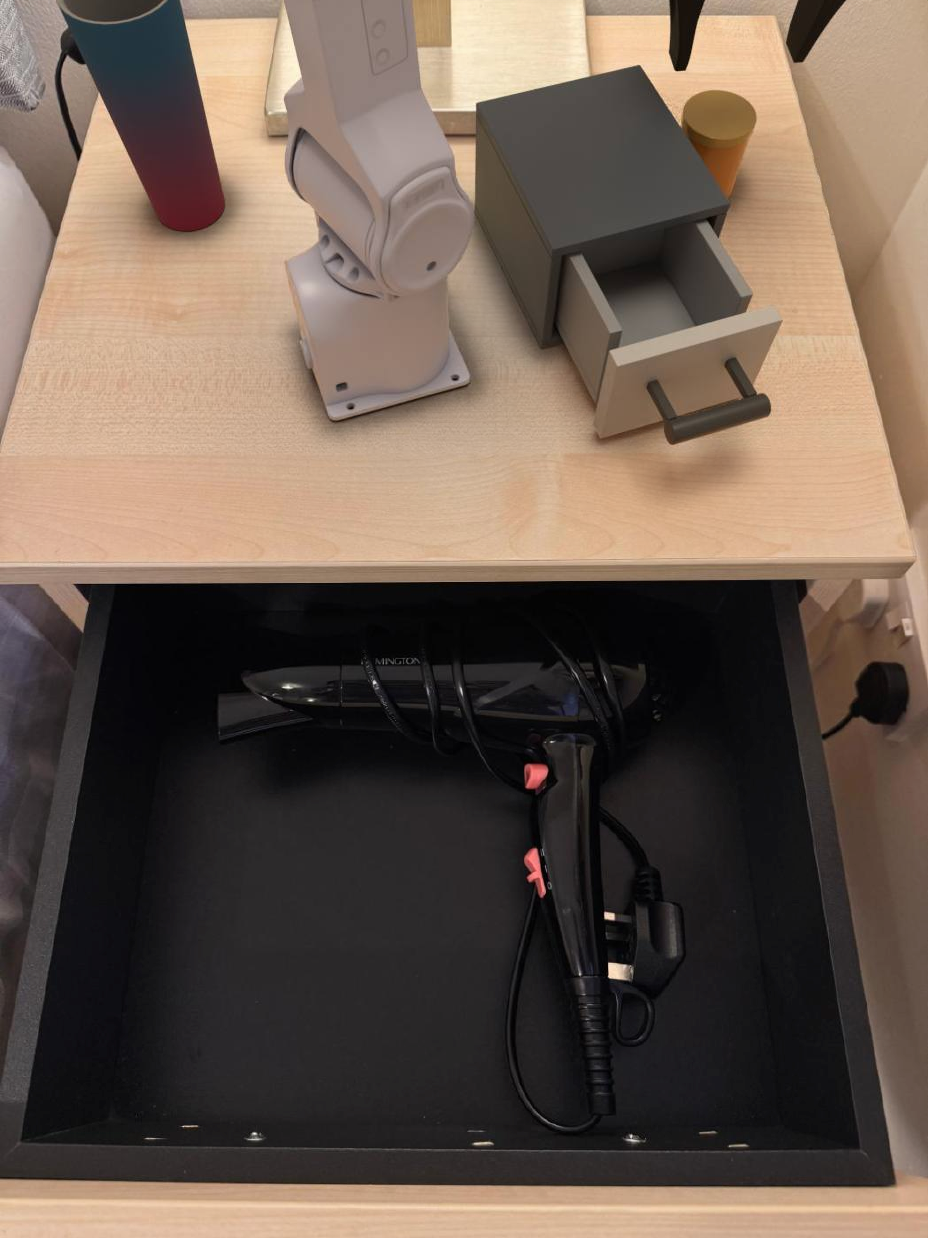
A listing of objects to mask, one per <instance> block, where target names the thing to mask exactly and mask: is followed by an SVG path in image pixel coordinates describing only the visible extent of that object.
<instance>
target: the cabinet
mask: <svg viewBox="0 0 928 1238" xmlns="http://www.w3.org/2000/svg"><path fill="white" fill-rule="evenodd" d="M680 126H681V124H679V122H678V120H677V119H676V118H675V116H674V114H673V113H672V112H671V109H670V108H669V107H668V105H667V104H666V102H665V101H664V100H663V98H662V96H661V95H660V93H659V91H658V90H657V88H656V87H655V86H654V84H653V82H652V81H651V79H650V78H649V76H648V75H647V73H646V71H645V70H644V69H643V67H642V66H641V65H640V64H637V65H633V66H628V67H624V68H623V67H622V68H620V69H615V70H610V71H607V72H602V73H598V74H593V75H589V76H585V77H581V78H577V79H573V80H568V81H564V82H558V83H555V84H550V85H546V86H543V87H538V88H534V89H530V90H525V91H521V92H516V93H513V94H508V95H504V96H500V97H495V98H491V99H487V100H482V101H478V102H476V103H475V153H474V154H475V158H474V159H475V162H474V163H475V164H474V215H475V216H476V218H477V220H478V222H479V224H480V226H481V228H482V230H483V232H484V235H485V236H486V238H487V241H488V242H489V245H490V246H491V249H492V251H493V253H494V256H495V257H496V259H497V261H498V263H499V265H500V268H501V270H502V271H503V273H504V275H505V277H506V280H507V282H508V284H509V286H510V288H511V290H512V292H513V294H514V296H515V298H516V300H517V302H518V305H519V307H520V308H521V310H522V313H523V315H524V317H525V319H526V321H527V323H528V325H529V327H530V330H531V331H532V333H533V336H534V338H535V340H536V342H537V343H538V346H539V348H540V349H541V350H543V349H547V348H552V347H555V346H558V345H562V344H565V343H564V341H563V339H562V337H561V335H560V333H559V331H558V329H557V327H556V325H555V323H554V314H555V307H556V299H557V291H558V283H559V275H560V268H561V260H562V255H566V254H570V253H573V252H577V251H581V250H585V249H589V248H593V247H596V246H600V245H604V244H608V243H612V242H615V241H619V240H623V239H627V238H631V237H635V236H638V235H642V234H646V233H650V232H654V231H658V230H661V229H665V228H669V227H673V226H677V225H681V224H684V223H688V222H692V221H696V220H700V219H704V218H706V220H707V221H708V223H709V224H710V226H711V228H712V229H713V231H714V232H715V234H716V235H717V237H718V239H719V240H720V237H721V233H722V230H723V228H724V224H725V221H726V218H727V215H728V212H729V209H730V206H731V202H730V200H729V199H728V198H727V197H726V196H725V194H724V193H723V191H722V190H721V188H720V186H719V185H718V183H717V182H716V180H715V179H714V177H713V176H712V174H711V173H710V171H709V170H708V168H707V167H706V165H705V164H704V162H703V160H702V159H701V157H700V156H699V154H698V153H697V151H696V150H695V148H694V147H693V145H692V144H691V142H690V141H689V139H688V138H687V136H686V134H685V133H684V131H683V130H682V128H681V127H680Z"/></svg>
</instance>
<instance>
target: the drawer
mask: <svg viewBox="0 0 928 1238" xmlns="http://www.w3.org/2000/svg"><path fill="white" fill-rule="evenodd" d="M727 251H728V250H727V249H726V247H725V246H724V245H723V243H722V241H721V240H720V238H719V239H718V237H717V235H716V234H715V232H714V231H713V229H712V228H711V226H710V224H709V223H708V221H707V220H706V218H704V219H700V220H696V221H692V222H688V223H684V224H681V225H677V226H673V227H669V228H665V229H661V230H658V231H654V232H650V233H646V234H642V235H638V236H635V237H631V238H627V239H623V240H619V241H615V242H612V243H608V244H604V245H600V246H596V247H593V248H589V249H585V250H581V251H577V252H573V253H570V254H566V255H562V260H561V268H560V275H559V283H558V291H557V299H556V307H555V314H554V323H555V325H556V327H557V329H558V331H559V333H560V335H561V337H562V339H563V341H564V343H563V344H564V345H565V347H566V349H567V351H568V353H569V355H570V357H571V359H572V361H573V362H574V365H575V367H576V369H577V371H578V374H580V377H581V379H582V381H583V383H584V384H585V387H586V389H587V391H588V393H589V395H590V397H591V399H592V401H593V403H594V404H595V405H596V404H597V405H596V409H595V414H594V419H593V423H592V424H593V426H594V428H595V431H596V432H597V435H598V437H599V438H600V439H604V438H607V437H611V436H614V435H618V434H622V433H624V432H628V431H631V430H634V429H637V428H642V427H645V426H648V425H652V424H655V423H659V422H663V423H664V424H663V432H664V436H665V439H666V442H667V443H668V444H669V445H671V446H675V445H679V444H682V443H684V442H689V441H692V440H695V439H698V438H702V437H705V436H708V435H712V434H715V433H719V432H721V431H725V430H729V429H732V428H735V427H738V426H743V425H745V424H746V425H747V424H749V423H752V422H756V421H759V420H762V419H766V418H769V416H770V415H771V412H772V404H771V400H770V398H769V396H768V395H767V394H766V393H764V392H760V393H758V391H757V390H756V389H755V386H754V384H755V382H756V380H757V378H758V376H759V374H760V371H761V369H762V367H763V365H764V362H765V360H766V358H767V356H768V354H769V351H770V349H771V348H772V345H773V343H774V341H775V338H776V336H777V334H778V332H779V330H780V327H781V326H782V323H783V321H784V319H783V317H782V315H781V314H780V312H779V310H778V309H777V308H776V306H775V305H774V304H770V305H767V306H765V307H760V308H757V309H754V310H750V311H748V308H749V305H750V303H751V300H752V298H753V296H754V293H753V290H751V288H750V286H749V284H748V282H747V281H746V280H745V278H744V276H743V275H742V274H741V273H742V272H740V270H739V268H738V267H737V265H736V263H735V262H734V261H733V259H732V258H731V256H730V255H729V253H728V252H727Z"/></svg>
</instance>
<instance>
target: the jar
mask: <svg viewBox="0 0 928 1238" xmlns="http://www.w3.org/2000/svg"><path fill="white" fill-rule="evenodd" d="M680 116H681V117H680V127H681V128H682V130H683V131H684V133H685V134H686V136H687V138H688V139H689V141H690V142H691V144H692V145H693V147H694V148H695V150H696V151H697V153H698V154H699V156H700V157H701V159H702V160H703V162H704V164H705V165H706V167H707V168H708V170H709V171H710V173H711V174H712V176H713V177H714V179H715V180H716V182H717V183H718V185H719V186H720V188H721V190H722V191H723V193H724V194H725V196H726V197H727V199H728V198H729V197H730V196H731V195H732V192H733V191H734V187H735V184H736V181H737V178H738V175H739V172H740V168H741V166H742V162H743V159H744V157H745V153H746V151H747V147H748V144H749V142H750V138H751V136H752V135H753V133H754V131H755V127H756V124H757V120H758V119H757V112H756V110H755V107H754V106H753V104H752V103H751V102H750V101H749V100H747V99H746V98H745V97H743V96H741V95H740V94H737V93H735V92H732V91H728V90H722V89H711V90H703V91H701V92H698V93H696V94H694V95H692V96H690V98H688V99H687V101H686V102H685V103H684V105H683V108H682V112H681V115H680Z"/></svg>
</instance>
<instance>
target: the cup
mask: <svg viewBox="0 0 928 1238" xmlns="http://www.w3.org/2000/svg"><path fill="white" fill-rule="evenodd" d="M56 4H57V6H58V8H59V10H60V12H61V14H62V15H61V16H62V17H63V19H64V21H65V23H66V26H67V27H68V29H69V32H70V33H71V36H72V38H73V40H74V42H75V44H76V47H77V49H78V51H79V53H80V55H81V58H82V59H83V61H84V64H85V66H86V68H87V70H88V72H89V74H90V76H91V79H92V81H93V83H94V86H95V87H96V89H97V91H98V94H99V95H100V97H101V100H102V102H103V105H104V106H105V108H106V111H107V112H108V115H109V116H110V119H111V121H112V124H113V125H114V127H115V130H116V132H117V134H118V136H119V138H120V140H121V142H122V144H123V146H124V149H125V151H126V154H127V156H128V158H129V159H130V162H131V163H132V167H133V168H134V170H135V172H136V174H137V177H138V178H139V181H140V183H141V186H142V187H143V189H144V192H145V193H146V196H147V198H148V199H149V202H150V204H151V206H152V209H153V211H154V213H155V216H156V217H157V219H158V220H159V221H160V222H161V223H162V224H163V225H164V226H165V227H167V228H170V229H172V230H175V231H182V232H191V231H192V232H193V231H198V230H201V229H203V228H207V227H208V226H210V225H212V224H213V223H214V222H216V221H217V220H218V219H219V218H220V216H222V214H223V212H224V211H225V206H226V199H225V195H224V190H223V185H222V180H221V177H220V172H219V168H218V167H219V166H218V164H217V163H218V162H217V159H216V155H215V150H214V145H213V142H212V137H211V132H210V128H209V122H208V119H207V114H206V110H205V109H206V108H205V105H204V100H203V95H202V92H201V87H200V83H199V78H198V74H197V69H196V65H195V60H194V56H193V51H192V47H191V42H190V38H189V33H188V29H187V25H186V20H185V15H184V11H183V6H182V2H181V0H56Z"/></svg>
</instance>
